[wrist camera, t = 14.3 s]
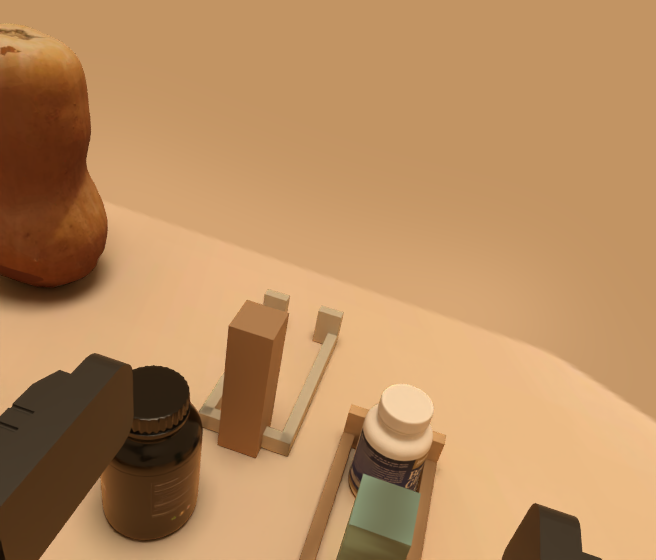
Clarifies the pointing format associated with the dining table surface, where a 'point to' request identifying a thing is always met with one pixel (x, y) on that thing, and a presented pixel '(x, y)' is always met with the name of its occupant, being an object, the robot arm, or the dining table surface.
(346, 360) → the dining table surface
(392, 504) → the tall sage green pillar
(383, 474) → the pill bottle
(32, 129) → the butternut squash
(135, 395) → the supplement bottle
